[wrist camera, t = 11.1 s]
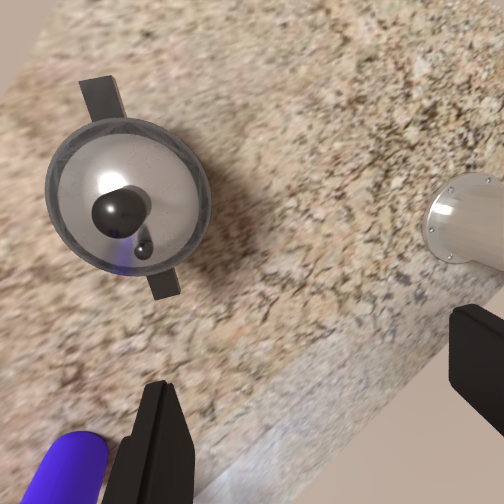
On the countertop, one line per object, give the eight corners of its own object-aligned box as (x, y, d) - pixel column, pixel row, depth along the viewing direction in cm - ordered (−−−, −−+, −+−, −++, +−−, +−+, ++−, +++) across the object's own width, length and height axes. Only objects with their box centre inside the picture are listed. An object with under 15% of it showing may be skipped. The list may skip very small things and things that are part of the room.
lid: (179, 122, 25) (175, 112, 20) (211, 246, 29) (215, 269, 23) (41, 149, 24) (-7, 148, 18) (92, 275, 28) (65, 307, 22)
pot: (182, 82, 32) (177, 57, 24) (226, 257, 39) (234, 285, 31) (49, 108, 31) (-5, 91, 23) (117, 284, 38) (95, 322, 29)
